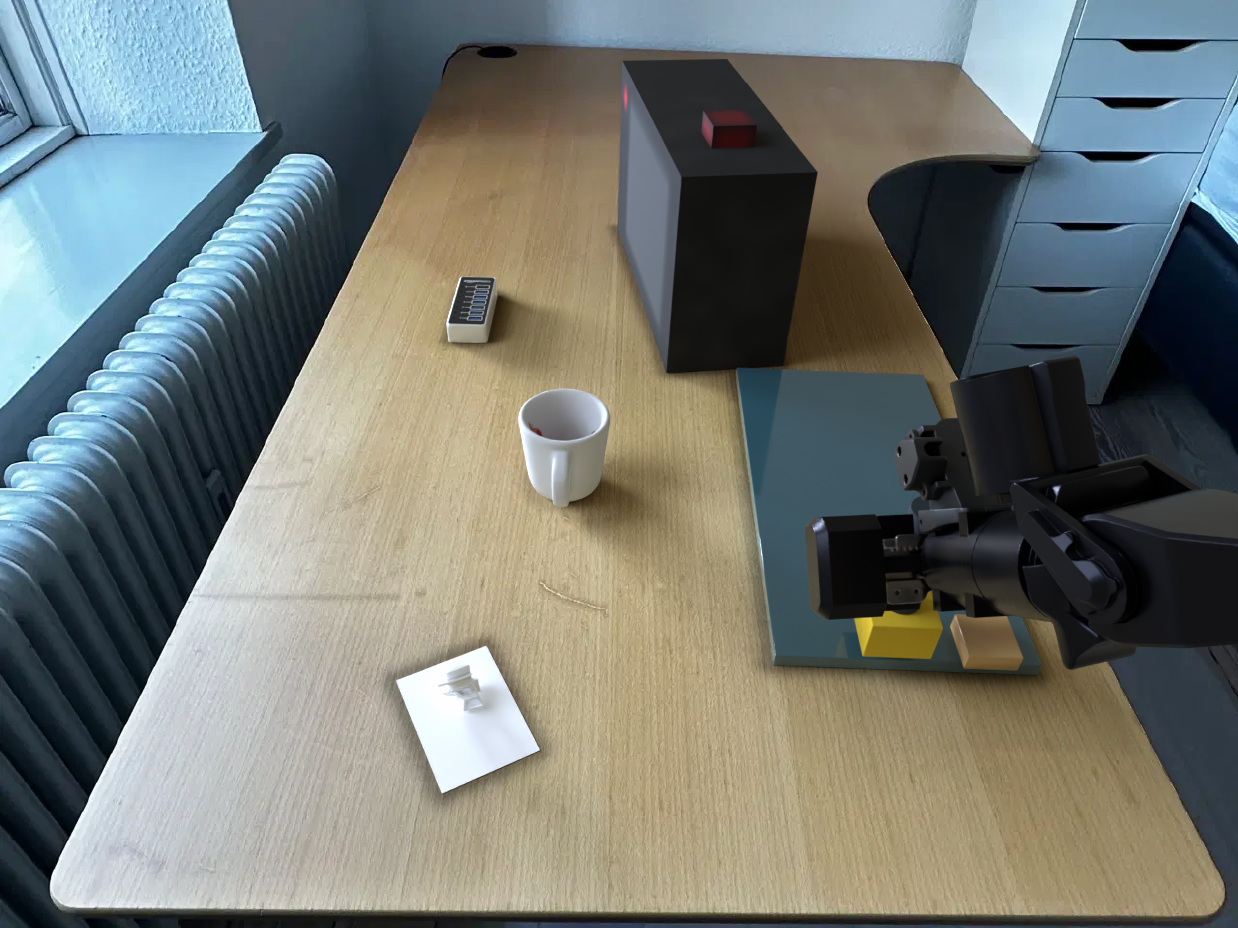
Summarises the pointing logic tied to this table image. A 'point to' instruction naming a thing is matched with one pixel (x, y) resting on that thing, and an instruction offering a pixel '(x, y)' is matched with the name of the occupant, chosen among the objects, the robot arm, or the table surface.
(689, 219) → the speaker
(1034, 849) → the table surface
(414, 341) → the table surface
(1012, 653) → the tan square block
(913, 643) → the sponge wand
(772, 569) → the plate
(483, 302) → the multiport hub
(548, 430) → the cup
